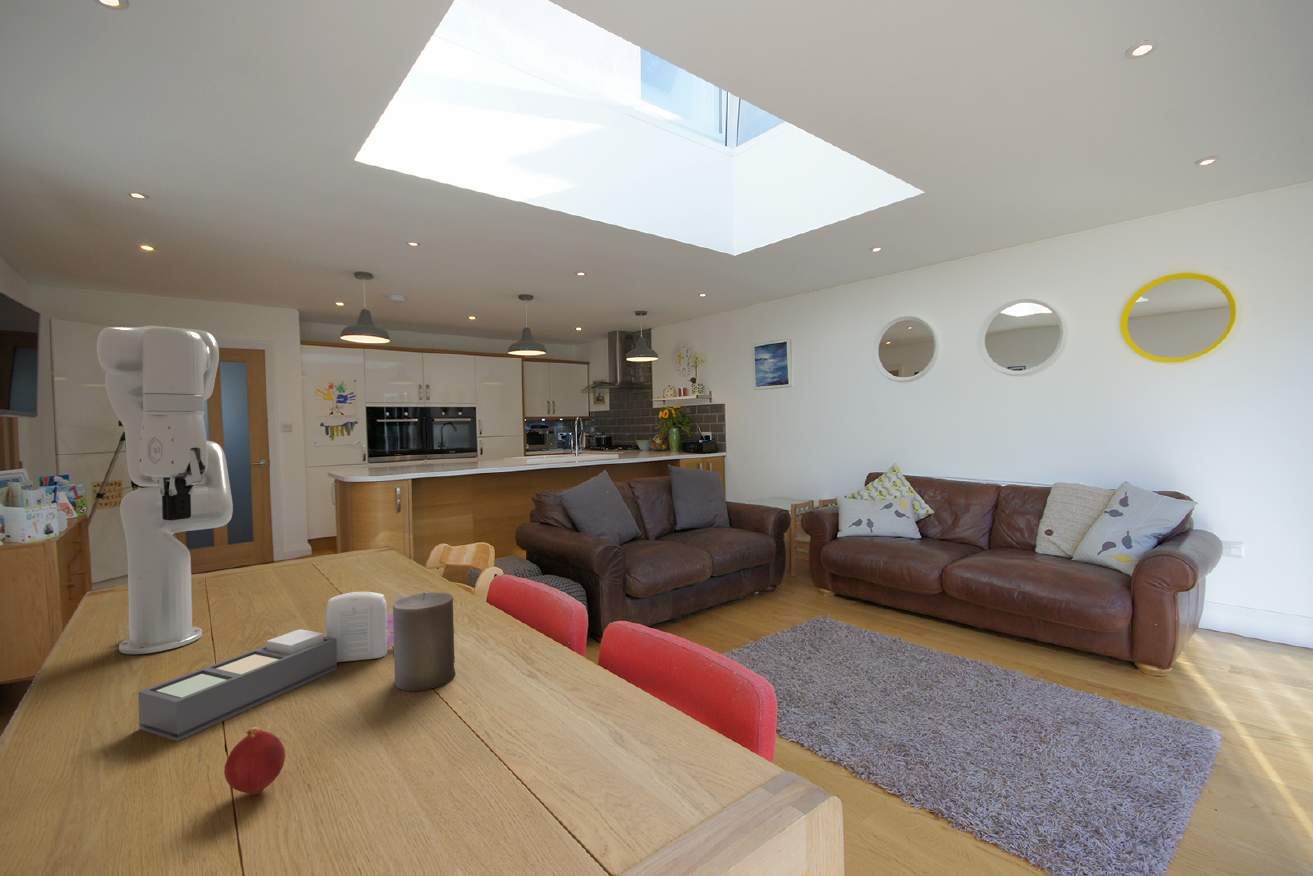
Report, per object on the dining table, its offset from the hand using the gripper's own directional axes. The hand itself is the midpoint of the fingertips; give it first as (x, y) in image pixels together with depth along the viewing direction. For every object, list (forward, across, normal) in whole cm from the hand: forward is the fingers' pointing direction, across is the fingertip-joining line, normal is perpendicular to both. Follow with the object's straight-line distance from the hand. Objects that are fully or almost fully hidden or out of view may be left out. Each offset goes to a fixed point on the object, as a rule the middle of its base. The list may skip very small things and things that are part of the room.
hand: (177, 518), depth 92 cm
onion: (+28, +38, -13) cm, 49 cm away
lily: (+29, +19, +29) cm, 45 cm away
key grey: (+26, +12, +11) cm, 30 cm away
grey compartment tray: (+28, +12, +3) cm, 31 cm away
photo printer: (+29, +16, +20) cm, 39 cm away
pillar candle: (+28, +34, +18) cm, 48 cm away
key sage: (+27, +12, -5) cm, 30 cm away
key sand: (+27, +12, +3) cm, 30 cm away
